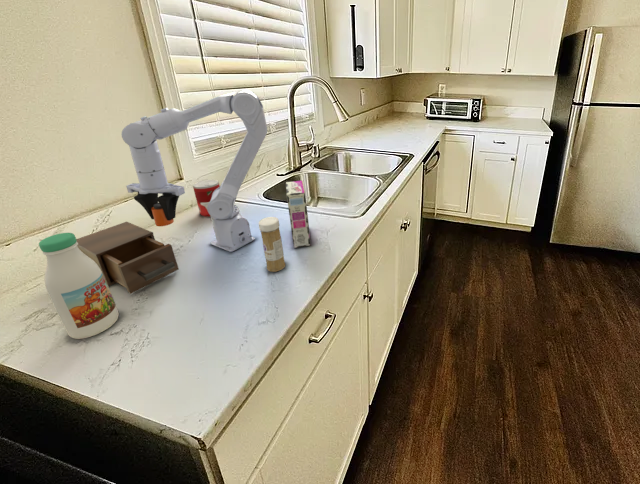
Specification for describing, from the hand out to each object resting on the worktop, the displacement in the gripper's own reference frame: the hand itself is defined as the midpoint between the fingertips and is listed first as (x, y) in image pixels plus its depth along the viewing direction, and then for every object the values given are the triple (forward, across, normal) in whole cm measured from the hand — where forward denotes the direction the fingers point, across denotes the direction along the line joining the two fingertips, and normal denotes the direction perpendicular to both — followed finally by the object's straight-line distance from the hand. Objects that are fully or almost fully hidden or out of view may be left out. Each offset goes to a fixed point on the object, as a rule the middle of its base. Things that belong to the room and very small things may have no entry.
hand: (163, 218), depth 87 cm
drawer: (+10, +3, -12) cm, 16 cm away
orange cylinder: (+1, 0, 0) cm, 1 cm away
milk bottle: (+11, +5, -26) cm, 29 cm away
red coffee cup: (+10, -6, +25) cm, 28 cm away
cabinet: (+11, -8, -8) cm, 15 cm away
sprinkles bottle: (+10, +32, -4) cm, 34 cm away
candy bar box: (+10, +33, +11) cm, 36 cm away
